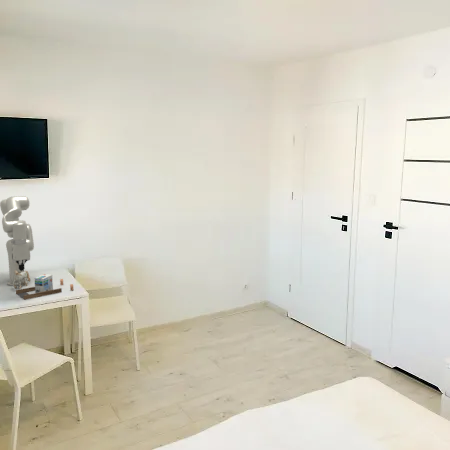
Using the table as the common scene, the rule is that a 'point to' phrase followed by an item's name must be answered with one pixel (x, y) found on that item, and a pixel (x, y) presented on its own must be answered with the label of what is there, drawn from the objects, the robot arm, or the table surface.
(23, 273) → the unicorn figurine
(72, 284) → the posts
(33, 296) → the guide channel
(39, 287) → the light bulb box
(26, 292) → the mat
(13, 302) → the table surface
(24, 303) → the table surface
